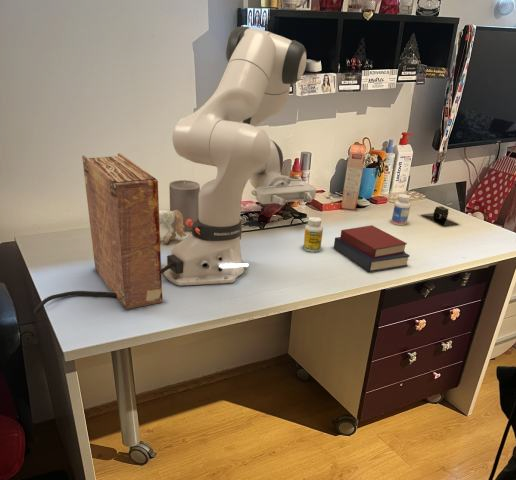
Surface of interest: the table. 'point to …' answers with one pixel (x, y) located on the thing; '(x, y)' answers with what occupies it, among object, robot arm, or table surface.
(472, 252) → the table surface
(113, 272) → the book
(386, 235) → the book stack
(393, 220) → the pill bottle
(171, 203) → the pillar candle
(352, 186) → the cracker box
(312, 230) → the supplement bottle
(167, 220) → the unicorn figurine
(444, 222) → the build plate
